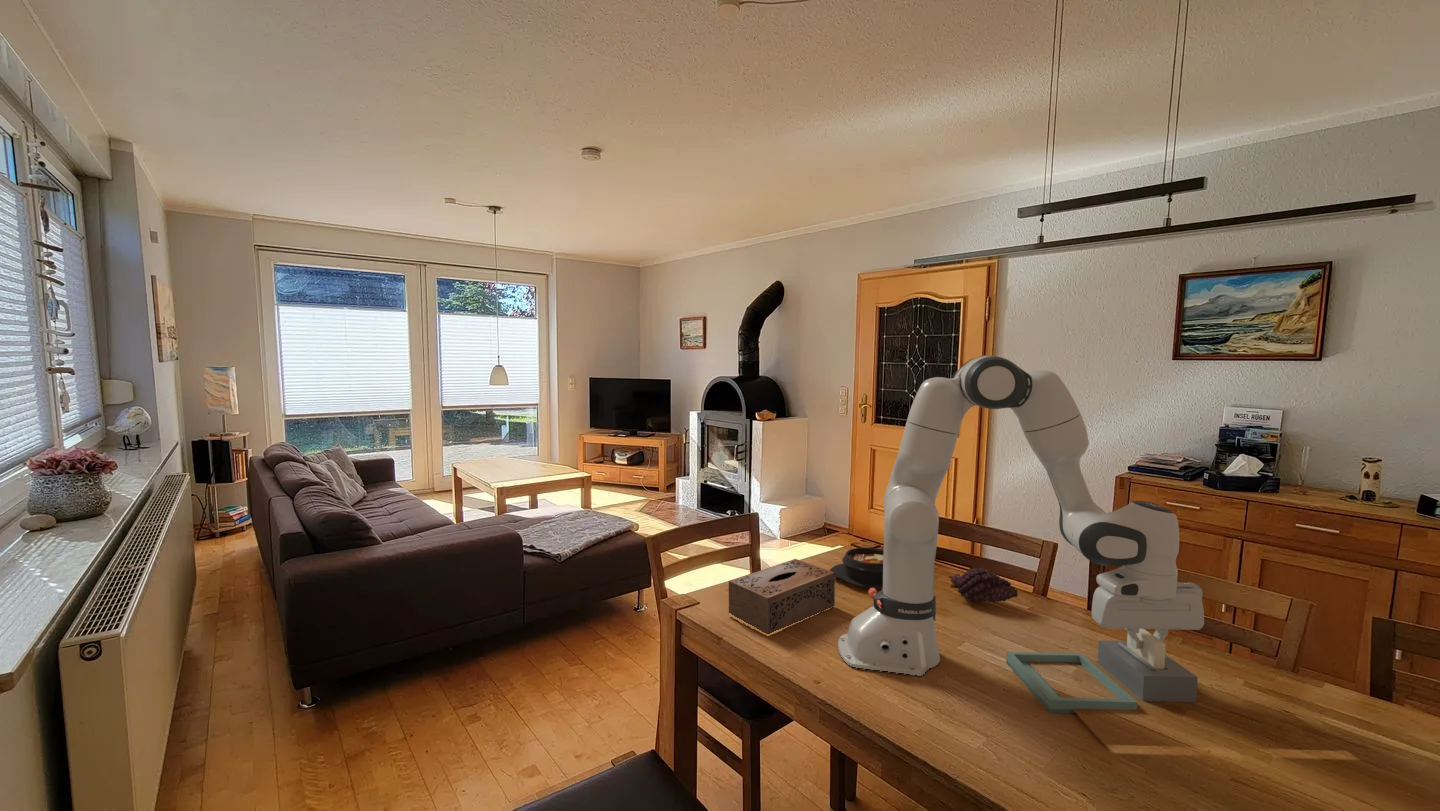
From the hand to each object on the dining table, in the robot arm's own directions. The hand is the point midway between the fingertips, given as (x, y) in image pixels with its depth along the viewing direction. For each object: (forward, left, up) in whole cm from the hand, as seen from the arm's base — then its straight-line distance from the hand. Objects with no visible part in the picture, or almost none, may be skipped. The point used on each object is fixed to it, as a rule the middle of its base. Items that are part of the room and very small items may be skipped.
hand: (1145, 647), depth 115 cm
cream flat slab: (0, 0, -7) cm, 7 cm away
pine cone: (-17, +39, -8) cm, 43 cm away
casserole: (-44, +54, -8) cm, 70 cm away
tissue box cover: (-72, +32, -9) cm, 79 cm away
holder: (0, 0, -8) cm, 8 cm away
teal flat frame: (-16, -1, -8) cm, 18 cm away
